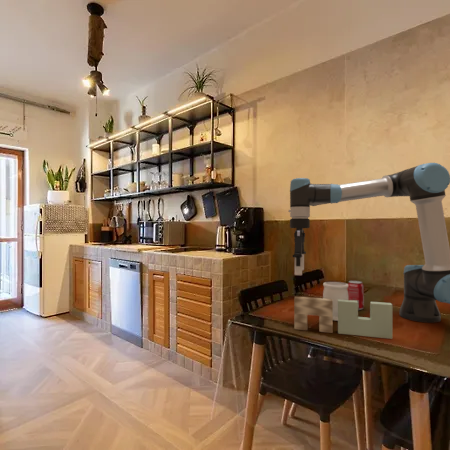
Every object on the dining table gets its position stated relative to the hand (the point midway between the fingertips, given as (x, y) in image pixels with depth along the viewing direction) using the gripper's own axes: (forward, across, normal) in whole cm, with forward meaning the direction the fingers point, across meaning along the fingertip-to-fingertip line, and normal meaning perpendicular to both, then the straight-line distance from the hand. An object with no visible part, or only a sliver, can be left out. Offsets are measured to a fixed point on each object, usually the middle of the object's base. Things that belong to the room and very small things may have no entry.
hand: (299, 272), depth 118 cm
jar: (+22, -18, +14) cm, 32 cm away
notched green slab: (+22, 0, +23) cm, 32 cm away
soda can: (+22, -37, +24) cm, 49 cm away
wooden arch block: (+22, 0, +5) cm, 22 cm away
